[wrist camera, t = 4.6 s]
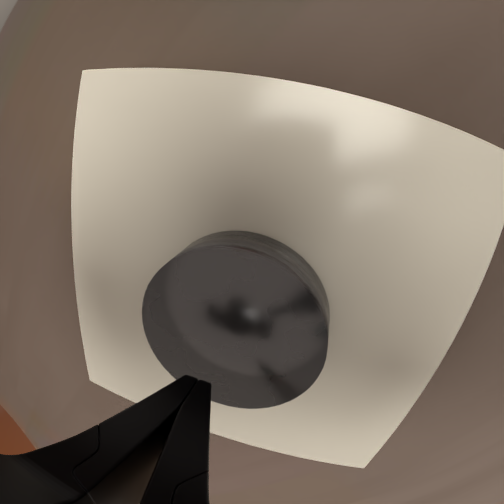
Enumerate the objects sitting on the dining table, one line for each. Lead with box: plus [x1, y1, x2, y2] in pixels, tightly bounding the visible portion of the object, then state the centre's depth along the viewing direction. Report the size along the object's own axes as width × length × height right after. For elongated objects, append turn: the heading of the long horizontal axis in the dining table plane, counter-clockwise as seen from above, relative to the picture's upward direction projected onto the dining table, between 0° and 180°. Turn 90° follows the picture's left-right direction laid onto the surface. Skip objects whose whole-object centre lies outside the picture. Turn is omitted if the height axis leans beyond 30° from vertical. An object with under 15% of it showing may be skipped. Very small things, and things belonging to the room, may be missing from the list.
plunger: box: [142, 231, 330, 409], centre depth 14 cm, size 7×7×6 cm
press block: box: [71, 68, 504, 468], centre depth 15 cm, size 18×18×4 cm
